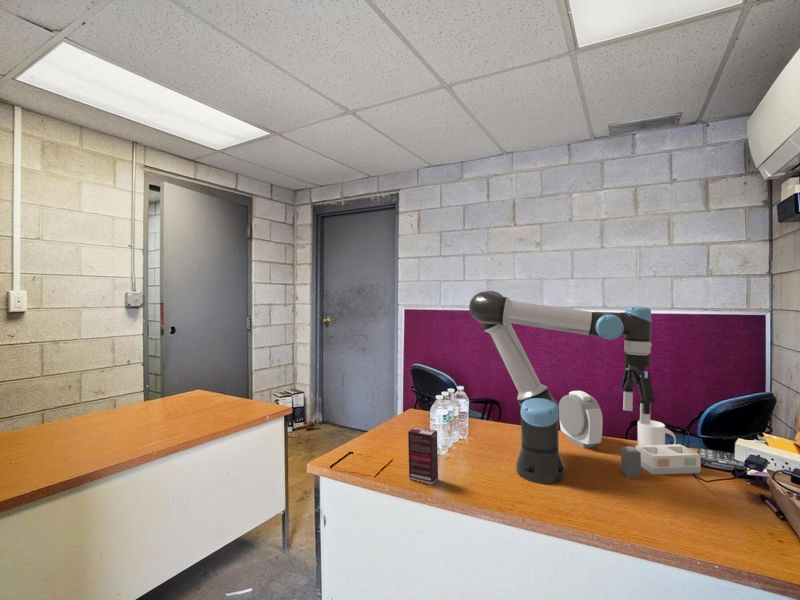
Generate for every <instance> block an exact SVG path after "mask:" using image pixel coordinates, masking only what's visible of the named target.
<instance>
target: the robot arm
mask: <svg viewBox="0 0 800 600" xmlns="http://www.w3.org/2000/svg"><path fill="white" fill-rule="evenodd" d="M468 309H469V313H470V316H471V317H472V318H473V319H474V321H476V322H478V323H480V325H481V327H482V328H483V331H484V333H488V334H490V337H491V339H492V340H493V343H494V345H495V347H496V349H497V350H498V353H499V355H500V357H501V359H502V361H503V363H504V365H505V368H506V369H507V371H508V373H509V375H510V378H511V380H512V382H513V384H514V385H515V388H516V390H517V392H518V394H517V396H516V397H517V398H516V399H517V402H518V403H519V406H520V410H519V411H520V419H521V420H520V422H521V423H520V428H521V429H520V430H521V432H520V433H521V434H520V437H521V438H520V439H521V448H520V451H519V453H518V457H517V459H516V464H515V466H516V467H515V470H516V473H517V474H518V475H519V476H520V477H521V476H522V477H521V478H523V479H525V480H528V481H531V482H534V483H540V484H556V483H560V482H562V481H563V480H564V479H565V477H566V476H565V467H564V464H563V461H562V457H561V455H560V452H559V419H560V418H559V404H558V402H557V400H556V399H555V398H554V397H553V396H552V394H551V392H550V390H549V388H548V386H547V385H545V384H542V383H541V381H540V379H539V377H538V375H537V374H536V372H535V371H536V370H535V369H534V367H533V366H532V363H531V361H530V359H529V357H528V355H527V353H526V351H525V349H524V347H523V345H522V343H521V341H520V339H519V336H517V333H516V331H515V329H514V327H513V325H512V324H515V325H521V326H528V327H532V328H541V329H547V330H551V331H552V330H554V331H559V332H566V333H567V332H568V333H572V334H573V333H574V334H578V335H579V334H580V335H586V336H592V337H597V338H602V339H604V340H615V339H618V338H620V336H624V344H623V345H624V347H623V348H624V349H623V350H624V354H623V355H624V357H623V360H624V361H623V363H624V370H623V371H624V372H623V375H622V379H621V384H620V387H621V389H622V391H623V405H622V407H623V408H622V409H623V411H627V412H633V408H634V407H633V405H634V403H633V402H634V386H635V385H637V389H638V393H639V397H640V401H639V404H640V405H639V420H640V423H642V424H650V420H651V410H652V408H651V407H652V404H655V403H656V402H655V395H654V391H653V386H652V381H651V380H652V379H651V372H650V371H646V368H647V367H650V366H651V363H652V361H651V357H652V355H650V354H651V352H652V351H651V350H652V349H651V348H652V346H653V344H652V323H653V320H652V309H651V308H649V307H645V306H627V307H625V309H624V312H623V311H622V312H610V311H609V312H608V311H588V310H583V309H582V310H581V309H573V308H566V307H560V306H559V307H558V306H552V305H545V304H539V303H530V302H523V301H516V300H511V299H510V297H508V296H503V295H502V294H501V293H500V292H497V291H493V290H486V291H480V292H478V293H476V294H474V295H473V297H472V298H471V300H470V301H469V306H468Z"/></svg>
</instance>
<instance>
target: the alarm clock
mask: <svg viewBox="0 0 800 600" xmlns="http://www.w3.org/2000/svg"><path fill="white" fill-rule="evenodd" d="M558 407H559V418H558V419H559V426H560V431H561V432H562V433H564V434H565V439H566V440H568V441H570V442H572V443H574V444H575V445H577V446H578V447H581V448H582V449H586V448H587V449H588V448H594V447H596V444H601V443H602V438H603V437H602V436H603V420H604V419H603V411H602V409H601V406H600V404H599V402H598V401H597V400H596V398H594V397H593V396H592V395H590V394H589V393H587V392H585V391H582V390H572V391H569V392H568V394H567V395H564V396H562V397H561V399H560V400H559V404H558Z"/></svg>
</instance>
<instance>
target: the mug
mask: <svg viewBox="0 0 800 600" xmlns="http://www.w3.org/2000/svg"><path fill="white" fill-rule="evenodd" d="M666 434H668V435H670V436H672V437H673V441H674V442H673V444H677V443H676V442H677V438H676V435H675V433H674V432H673V431H671V430H670V429H668V428H667V427H666V424H664V423H663V422H660V421H657V420H652V419H650V424H642V423H640V419H639V420H637V445H666Z"/></svg>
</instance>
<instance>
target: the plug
mask: <svg viewBox="0 0 800 600" xmlns="http://www.w3.org/2000/svg"><path fill="white" fill-rule="evenodd" d="M620 452H621V453H620V458H621V459H620V460H621V461H620V462H621V463H620V464H621V465H620V472H621V473H622V474H624V475H625V476H626V477H627V478H630V479H631V478H641V477H642V467H641V452H639V451H637V450H636V449H635V447H634V446H625V447H621V448H620Z"/></svg>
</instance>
